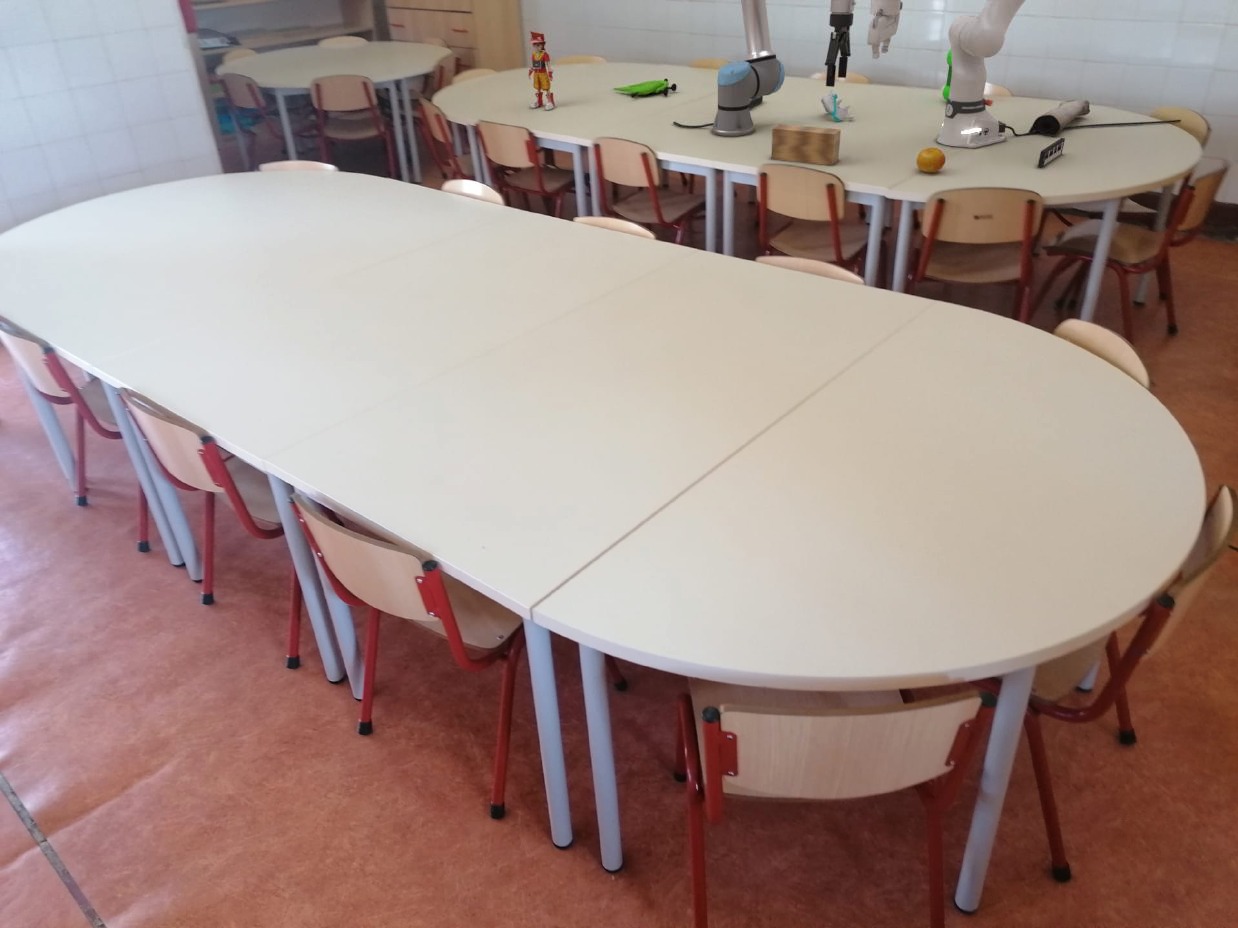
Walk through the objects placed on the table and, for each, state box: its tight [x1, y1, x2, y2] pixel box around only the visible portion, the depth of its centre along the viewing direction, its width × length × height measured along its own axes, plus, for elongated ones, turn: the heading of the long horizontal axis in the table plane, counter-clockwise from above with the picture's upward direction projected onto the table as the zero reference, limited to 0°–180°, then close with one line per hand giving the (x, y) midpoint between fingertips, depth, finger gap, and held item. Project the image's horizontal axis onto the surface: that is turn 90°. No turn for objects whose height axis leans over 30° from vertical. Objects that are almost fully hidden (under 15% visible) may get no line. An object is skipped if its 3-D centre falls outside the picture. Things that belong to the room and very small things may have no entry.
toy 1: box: [527, 31, 556, 111], centre depth 374 cm, size 12×9×30 cm
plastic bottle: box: [942, 48, 952, 102], centre depth 348 cm, size 10×10×25 cm
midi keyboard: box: [1037, 137, 1066, 168], centre depth 287 cm, size 18×1×5 cm, turn 138°
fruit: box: [916, 147, 946, 174], centre depth 284 cm, size 8×8×8 cm
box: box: [770, 123, 842, 166], centre depth 300 cm, size 22×6×10 cm, turn 59°
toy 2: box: [612, 78, 677, 99], centre depth 396 cm, size 28×5×30 cm
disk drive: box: [749, 96, 764, 110], centre depth 367 cm, size 10×3×15 cm
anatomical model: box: [820, 90, 855, 122], centre depth 343 cm, size 15×10×10 cm
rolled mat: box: [1028, 99, 1091, 137], centre depth 319 cm, size 30×9×10 cm
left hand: (836, 82), depth 304 cm, fingers open, 13 cm apart
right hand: (880, 55), depth 286 cm, fingers open, 8 cm apart
